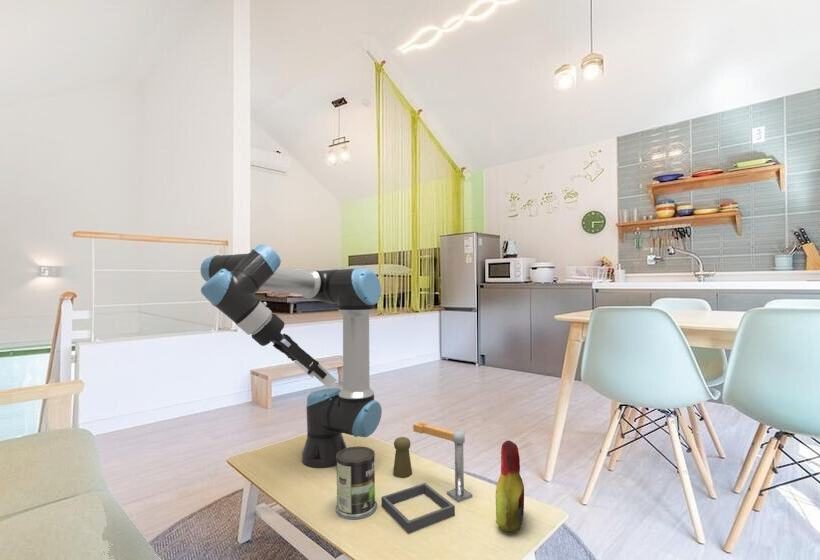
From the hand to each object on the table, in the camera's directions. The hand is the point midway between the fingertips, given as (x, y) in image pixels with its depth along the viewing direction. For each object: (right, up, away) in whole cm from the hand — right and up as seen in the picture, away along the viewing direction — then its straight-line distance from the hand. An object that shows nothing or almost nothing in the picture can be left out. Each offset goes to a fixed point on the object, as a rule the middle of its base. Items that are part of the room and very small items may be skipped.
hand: (323, 378), depth 104 cm
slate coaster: (+8, -36, +4) cm, 37 cm away
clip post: (+36, -35, +10) cm, 51 cm away
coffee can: (+8, -35, +4) cm, 37 cm away
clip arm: (+31, -20, +14) cm, 39 cm away
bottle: (+47, -35, -3) cm, 59 cm away
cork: (+20, -36, +23) cm, 47 cm away
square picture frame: (+24, -35, +2) cm, 43 cm away
